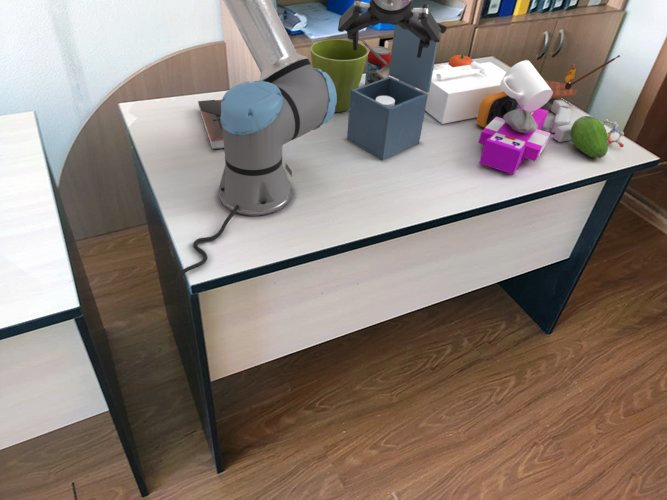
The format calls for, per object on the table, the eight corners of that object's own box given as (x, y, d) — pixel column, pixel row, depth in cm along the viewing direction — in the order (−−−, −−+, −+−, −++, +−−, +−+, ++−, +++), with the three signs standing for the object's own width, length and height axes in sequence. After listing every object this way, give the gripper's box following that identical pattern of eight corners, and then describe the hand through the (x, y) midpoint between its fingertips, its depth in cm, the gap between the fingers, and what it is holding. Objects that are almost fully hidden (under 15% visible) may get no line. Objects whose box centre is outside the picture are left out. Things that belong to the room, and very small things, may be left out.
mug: (527, 90, 129) (504, 60, 133) (507, 114, 135) (486, 84, 139) (558, 89, 135) (536, 60, 139) (538, 112, 141) (517, 83, 145)
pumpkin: (475, 78, 170) (480, 54, 165) (458, 83, 166) (464, 59, 161) (457, 70, 174) (462, 47, 170) (440, 74, 170) (445, 51, 166)
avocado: (575, 111, 133) (599, 150, 129) (600, 107, 135) (624, 145, 131) (558, 131, 140) (580, 169, 136) (581, 127, 142) (604, 163, 138)
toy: (562, 114, 142) (533, 155, 121) (554, 135, 146) (525, 178, 125) (509, 99, 147) (473, 136, 126) (503, 119, 151) (467, 158, 130)
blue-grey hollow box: (382, 160, 129) (389, 109, 120) (346, 139, 136) (350, 89, 127) (419, 143, 136) (428, 94, 127) (383, 124, 143) (389, 76, 134)
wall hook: (343, 47, 139) (353, 33, 138) (402, 97, 162) (410, 85, 161) (354, 54, 136) (364, 40, 135) (412, 104, 159) (420, 92, 158)
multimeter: (480, 96, 140) (490, 101, 138) (523, 82, 148) (533, 86, 146) (473, 126, 145) (482, 131, 143) (515, 110, 154) (525, 115, 152)
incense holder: (505, 79, 172) (511, 43, 167) (607, 87, 163) (616, 49, 158) (499, 94, 155) (506, 54, 149) (612, 104, 146) (623, 61, 140)
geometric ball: (429, 77, 165) (428, 96, 161) (432, 57, 158) (431, 76, 154) (454, 79, 164) (454, 98, 160) (458, 58, 157) (458, 77, 154)
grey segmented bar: (553, 142, 141) (579, 146, 140) (558, 129, 138) (584, 133, 138) (544, 108, 156) (568, 112, 155) (549, 96, 153) (573, 100, 153)
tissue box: (513, 110, 154) (524, 73, 146) (442, 123, 145) (450, 85, 137) (482, 89, 163) (491, 54, 156) (413, 101, 154) (420, 64, 147)
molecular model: (593, 117, 139) (594, 143, 138) (626, 117, 138) (627, 143, 136) (584, 129, 146) (585, 154, 145) (615, 130, 145) (617, 155, 143)
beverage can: (360, 86, 160) (364, 46, 152) (380, 83, 162) (384, 44, 155) (370, 96, 156) (375, 55, 148) (390, 93, 158) (396, 52, 150)
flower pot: (313, 120, 142) (315, 60, 132) (304, 95, 153) (306, 39, 142) (367, 117, 145) (374, 59, 134) (355, 93, 156) (360, 38, 145)
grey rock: (539, 141, 126) (549, 121, 123) (506, 131, 126) (514, 110, 123) (529, 129, 136) (538, 110, 134) (498, 119, 136) (506, 100, 134)
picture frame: (198, 109, 143) (212, 150, 128) (197, 100, 141) (211, 140, 126) (259, 103, 147) (279, 142, 132) (259, 95, 146) (279, 133, 131)
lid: (437, 31, 117) (461, 23, 122) (395, 15, 124) (419, 8, 129) (427, 92, 127) (449, 83, 131) (388, 75, 134) (411, 66, 138)
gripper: (318, 4, 93) (327, 58, 114) (461, 20, 91) (444, 71, 112) (324, -36, 93) (332, 24, 114) (467, -22, 91) (448, 37, 113)
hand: (387, 47), depth 113 cm, fingers open, 13 cm apart
